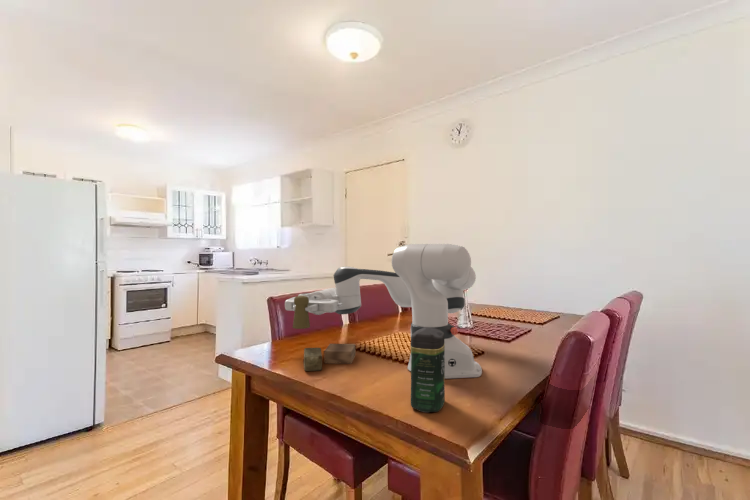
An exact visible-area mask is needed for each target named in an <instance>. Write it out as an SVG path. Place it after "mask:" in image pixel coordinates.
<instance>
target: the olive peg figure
mask: <svg viewBox="0 0 750 500" xmlns="http://www.w3.org/2000/svg"><path fill="white" fill-rule="evenodd" d="M294 297H295V298H294V304H295V305H296V306H295V311H294V314H293V322H292V328H293V329H297V330H299V329H300V330H302V329H309V328H311V324H310V317H309V312H306V311H305V307H306V306H307V305H308V303H309V298H308V297H307V296H298V295H296V296H294Z"/></svg>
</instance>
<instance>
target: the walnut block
mask: <svg viewBox="0 0 750 500" xmlns="http://www.w3.org/2000/svg"><path fill="white" fill-rule="evenodd" d="M323 353H324V355H323V357H324V359H323V360H324V361H323V362H324V364H343V365H345V364H350V365H351V364H352V363H353V361H354V359H355V357H356V343H329V344H328V346H327V347H326V348H325V349H324V351H323Z"/></svg>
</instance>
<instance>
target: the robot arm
mask: <svg viewBox="0 0 750 500" xmlns="http://www.w3.org/2000/svg"><path fill="white" fill-rule="evenodd" d="M471 258H472V257H471V254H470V253H469V251H468V250H467V248H466V247H465V246H463V245H462V246H461V245H458V244H457V245H456V244H453V243H410V244H406V245H405V244H404V245H401V246H398V247H396V249H395V250H394V251H393V253H392V255H391V267H392V269H393V271H387V270H386V271H385V270H377V269H366V268H365V269H364V268H358V267H354V266H347V265H346V266H341V267H338V268H337V269H336V271H334V274H333V281H334V284H335V285H334V286H335V287H329V288H324V289H321V290H317V291H313V292H309V293H306V292H305V293H299V294H298V295H297V296H307V297H308V298H309V303H308V305H307V306H306V307H305V311H306V312H308V313H309V314H310V313H311V314H313V315H317V316H318V315H319V316H321V315H323V314H325V313H329V314H331V313H336V314H338V315H349V314H353V313H356V312H357V311H358V310H359V309H360V308H361V307H362V298H361V297H362V296H361V288H360V287H361V286H360V281H361V280H373V281H379V282H382V284H384V285H385V287H386V289H387V291H388V293H389V295H390V297H391V299H392V300H393V301H394V304H396V305H397V306H399V307H401V308H411V315H412V316H411V320H412V322H411V323H410V336H411V335H412V334H413V333H414V332H416V331H417V330H419V329H422V328H423V327H433V328H439V329H440V330H441V331H442V332H443V333H444V341H445V380H446V379H463V378H466V379H467V378H479V377H481V376H482V374H483V370H482V366H481V364H479V362H477V361H475V357H474V355H473V354H474V353H473V351H472V349H471V348H470V347H469V345H467V344H466V343H464V342H463V341H462V340H461V339H460V338H458V337H457V336H456V335H457V334H458V332H459V331H458V328H457V327H455V326H454V325H453V324H451V323H449V314H455V313H458V312H459V311H462V310H463V309H464V308H465V305H466V303H465V302H466V300H465V298H464V297H465V296H464V291H465V290H469V289H470V288H471V287H473V286H474V284H475V282H476V278H477V276H476V272H475V270H474V268H473V267H472V259H471ZM295 297H296V296H293V297H290V298H288V299H286V300H285V301H284V309H285V311H291V312H292V311H293V312H295V306H296V305H295V304H294V298H295ZM408 360H409V361H408V364H407V370H408V371H410V372H411V354H410V355H409V359H408Z"/></svg>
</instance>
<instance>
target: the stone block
mask: <svg viewBox="0 0 750 500" xmlns="http://www.w3.org/2000/svg"><path fill="white" fill-rule="evenodd" d="M303 350H304V351H303V369H304V371H305V372H306V371H307V372H319V371H322V370H323V355H322V354H323V353H322V348H321V347H305V348H304V349H303Z"/></svg>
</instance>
